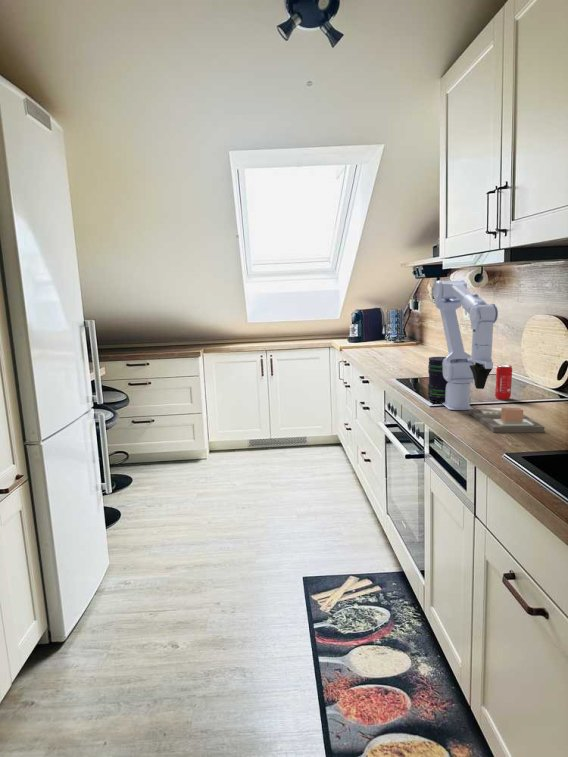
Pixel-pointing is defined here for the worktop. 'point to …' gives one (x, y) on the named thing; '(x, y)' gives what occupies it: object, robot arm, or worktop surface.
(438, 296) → the robot arm
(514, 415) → the stub
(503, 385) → the beverage can
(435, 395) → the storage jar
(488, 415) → the ticket board
